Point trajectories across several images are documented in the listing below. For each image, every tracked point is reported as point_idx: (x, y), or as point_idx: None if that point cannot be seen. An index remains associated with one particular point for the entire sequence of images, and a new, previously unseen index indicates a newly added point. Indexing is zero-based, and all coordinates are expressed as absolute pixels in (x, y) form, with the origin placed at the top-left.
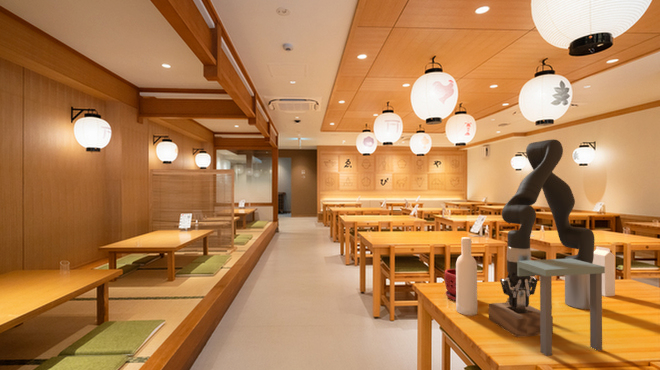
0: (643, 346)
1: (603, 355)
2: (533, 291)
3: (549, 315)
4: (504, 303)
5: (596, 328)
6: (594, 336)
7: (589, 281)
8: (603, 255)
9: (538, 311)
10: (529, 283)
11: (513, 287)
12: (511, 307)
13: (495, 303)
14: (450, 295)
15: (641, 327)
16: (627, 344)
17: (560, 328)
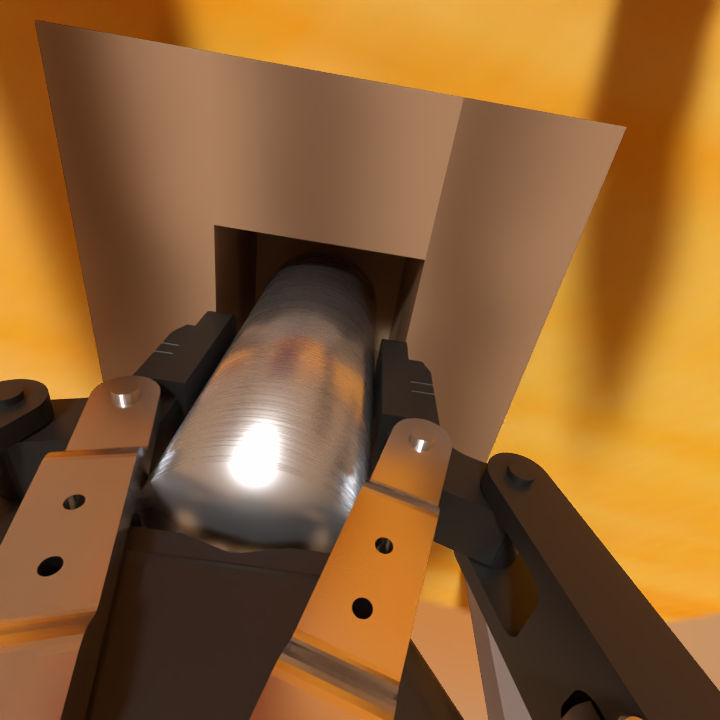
0: (705, 597)
1: (441, 581)
2: (500, 578)
3: None
4: (296, 110)
5: (482, 676)
6: (476, 617)
7: None
8: None
9: (463, 423)
10: (576, 668)
11: (190, 472)
12: (304, 235)
13: (153, 57)
14: None
15: None
16: (668, 574)
17: (588, 388)
